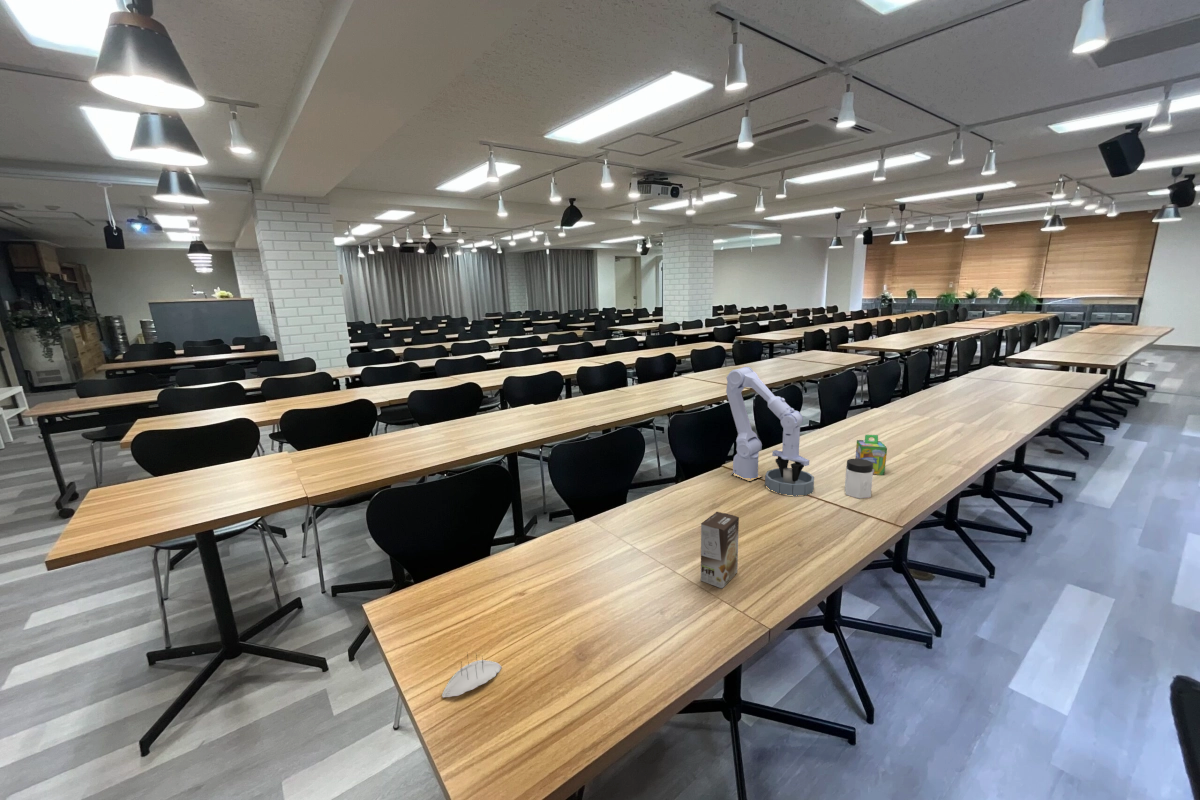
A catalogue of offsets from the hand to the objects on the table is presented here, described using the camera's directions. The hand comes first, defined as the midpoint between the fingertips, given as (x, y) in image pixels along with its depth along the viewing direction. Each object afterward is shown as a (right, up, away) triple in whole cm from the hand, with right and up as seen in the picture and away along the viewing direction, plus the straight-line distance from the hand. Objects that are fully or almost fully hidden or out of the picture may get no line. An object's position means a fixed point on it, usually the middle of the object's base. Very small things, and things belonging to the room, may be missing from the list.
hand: (789, 478), depth 176 cm
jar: (+21, -4, -7) cm, 23 cm away
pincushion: (-96, -26, -84) cm, 130 cm away
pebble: (0, -1, 0) cm, 1 cm away
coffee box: (-40, -17, -53) cm, 69 cm away
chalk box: (+38, +1, +13) cm, 40 cm away
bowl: (0, -3, +1) cm, 3 cm away
